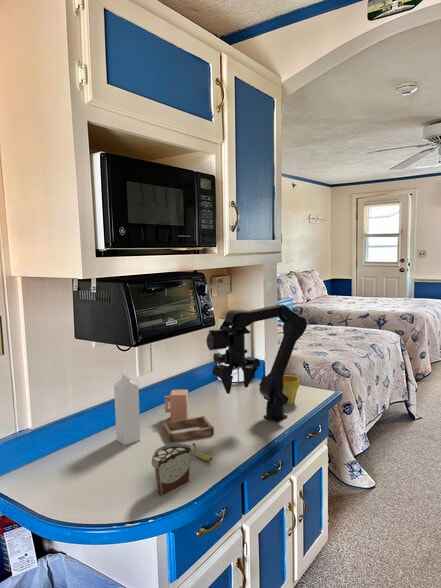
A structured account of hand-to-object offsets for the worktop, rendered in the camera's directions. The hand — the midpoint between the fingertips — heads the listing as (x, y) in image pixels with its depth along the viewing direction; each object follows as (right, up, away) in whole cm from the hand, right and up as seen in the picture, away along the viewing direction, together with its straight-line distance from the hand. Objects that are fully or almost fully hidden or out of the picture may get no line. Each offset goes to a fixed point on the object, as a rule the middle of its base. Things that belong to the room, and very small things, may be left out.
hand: (237, 390), depth 154 cm
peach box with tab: (-22, -13, +10) cm, 27 cm away
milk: (-37, -15, -8) cm, 40 cm away
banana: (-11, -16, -22) cm, 30 cm away
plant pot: (+21, -10, +24) cm, 34 cm away
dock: (-17, -14, -3) cm, 22 cm away
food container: (-20, -18, -36) cm, 45 cm away
